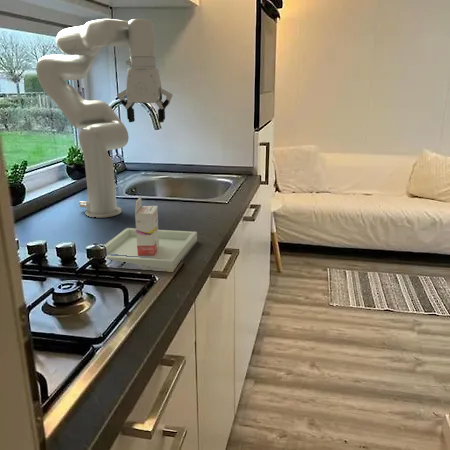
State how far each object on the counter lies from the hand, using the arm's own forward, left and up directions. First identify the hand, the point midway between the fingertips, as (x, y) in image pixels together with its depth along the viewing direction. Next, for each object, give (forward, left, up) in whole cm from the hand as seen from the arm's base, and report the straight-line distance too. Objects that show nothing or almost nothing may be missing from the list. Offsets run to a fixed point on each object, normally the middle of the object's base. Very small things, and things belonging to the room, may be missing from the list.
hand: (146, 122), depth 149 cm
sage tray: (+8, -26, -33) cm, 43 cm away
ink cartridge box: (+8, -26, -33) cm, 42 cm away
